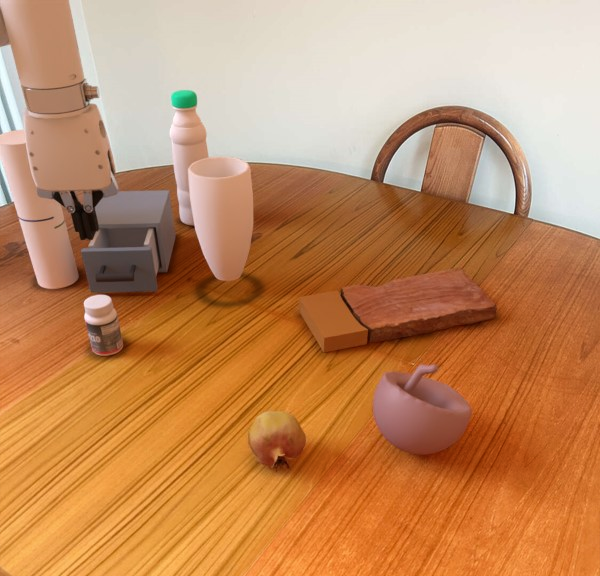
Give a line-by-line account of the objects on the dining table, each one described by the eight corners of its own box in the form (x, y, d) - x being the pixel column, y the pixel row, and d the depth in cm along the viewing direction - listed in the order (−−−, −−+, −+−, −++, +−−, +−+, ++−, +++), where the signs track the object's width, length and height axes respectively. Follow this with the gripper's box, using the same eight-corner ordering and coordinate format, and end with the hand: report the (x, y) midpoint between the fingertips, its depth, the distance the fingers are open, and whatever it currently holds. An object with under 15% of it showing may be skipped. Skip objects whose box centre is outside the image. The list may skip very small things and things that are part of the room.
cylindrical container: (31, 277, 119) (-12, 136, 103) (68, 265, 122) (32, 126, 106) (47, 293, 114) (5, 147, 98) (85, 279, 118) (50, 137, 102)
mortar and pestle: (481, 441, 85) (498, 371, 77) (425, 490, 78) (437, 418, 71) (408, 399, 91) (417, 330, 84) (350, 440, 85) (355, 370, 78)
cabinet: (167, 272, 120) (159, 223, 114) (97, 274, 120) (86, 224, 113) (175, 236, 131) (169, 190, 125) (112, 238, 131) (102, 191, 125)
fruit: (236, 400, 82) (245, 454, 75) (289, 383, 82) (303, 435, 75) (253, 438, 87) (262, 492, 79) (302, 422, 87) (317, 475, 79)
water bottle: (220, 216, 138) (209, 89, 122) (203, 229, 133) (189, 99, 118) (192, 210, 141) (177, 85, 125) (173, 223, 136) (156, 94, 120)
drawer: (153, 304, 110) (146, 262, 105) (85, 306, 109) (74, 264, 104) (166, 254, 123) (160, 215, 118) (105, 256, 123) (97, 216, 118)
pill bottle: (86, 347, 102) (74, 300, 96) (114, 335, 104) (103, 289, 99) (101, 360, 99) (90, 313, 94) (129, 348, 101) (119, 301, 96)
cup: (257, 304, 111) (250, 179, 97) (196, 305, 111) (180, 180, 97) (260, 274, 119) (254, 154, 105) (203, 275, 119) (189, 155, 105)
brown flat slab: (298, 311, 109) (297, 293, 107) (458, 282, 116) (461, 266, 114) (324, 354, 100) (324, 336, 98) (497, 320, 107) (501, 303, 105)
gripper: (122, 87, 84) (145, 222, 96) (4, 90, 83) (41, 226, 95) (112, 104, 78) (138, 246, 90) (-15, 108, 78) (28, 249, 89)
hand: (88, 235), depth 92 cm, fingers closed
